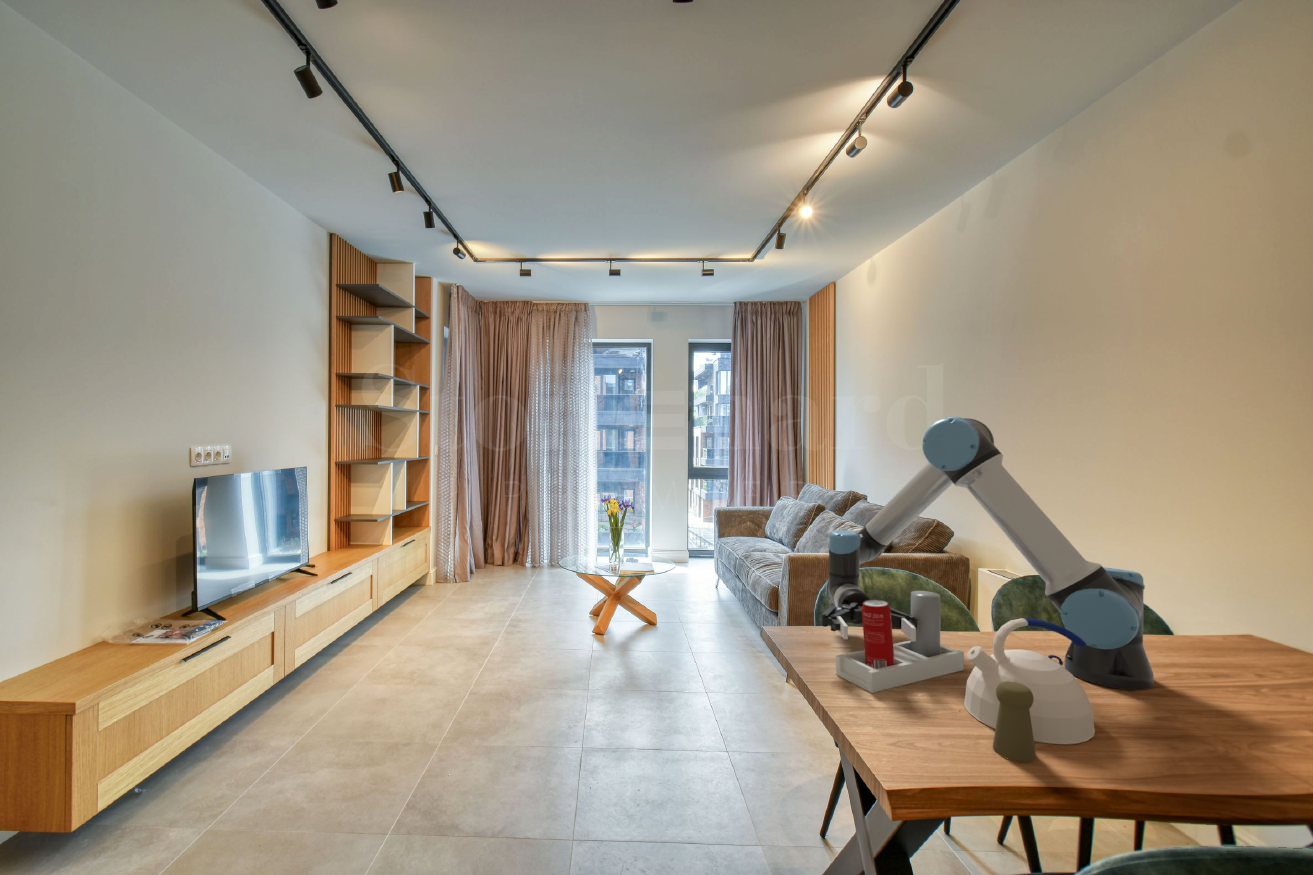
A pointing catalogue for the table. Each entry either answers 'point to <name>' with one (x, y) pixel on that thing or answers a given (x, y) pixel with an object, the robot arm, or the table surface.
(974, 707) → the kettle
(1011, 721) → the cork
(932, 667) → the can rail
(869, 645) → the beverage can
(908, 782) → the table surface
